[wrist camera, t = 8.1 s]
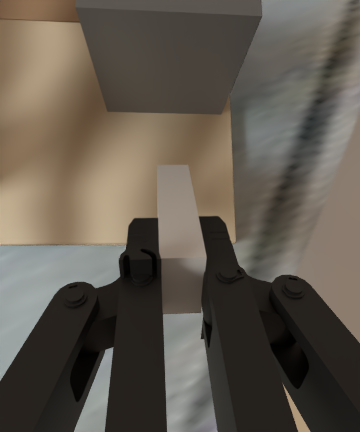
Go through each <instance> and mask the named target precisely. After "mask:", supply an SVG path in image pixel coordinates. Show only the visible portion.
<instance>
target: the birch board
mask: <svg viewBox="0 0 360 432" xmlns="http://www.w3.org/2000/svg"><path fill="white" fill-rule="evenodd" d="M75 4H76V0H0V246H18V245H127V236H128V226H129V224H130V223H131V222H132V220H133V219H134V218H158V206H157V165H188V166H189V171H190V176H191V181H192V186H193V191H194V196H195V201H196V206H197V211H198V216H219V217H220V218H221V219H222V220H223V221H224V222H225V223H226V226H227V230H228V233H229V236H230V240H231V243H232V244H233V243H236V236H235V211H234V187H233V162H232V137H231V112H230V95H229V97H228V99H227V102H226V104H225V107H224V109H223V111H222V114H221V115H217V114H176V113H136V112H107V109H106V105H105V102H104V99H103V96H102V92H101V89H100V86H99V83H98V79H97V76H96V73H95V70H94V66H93V63H92V60H91V57H90V53H89V50H88V47H87V44H86V40H85V37H84V34H83V31H82V27H81V24H80V21H79V18H78V14H77V11H76V8H75Z"/></svg>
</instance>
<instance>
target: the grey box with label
mask: <svg viewBox="0 0 360 432" xmlns="http://www.w3.org/2000/svg"><path fill="white" fill-rule="evenodd" d="M75 8H76V11H77V14H78V18H79V21H80V24H81V27H82V31H83V34H84V37H85V40H86V44H87V47H88V50H89V53H90V57H91V60H92V63H93V66H94V70H95V73H96V76H97V79H98V83H99V86H100V89H101V92H102V96H103V99H104V102H105V105H106V109H107V112H136V113H176V114H217V115H221V114H222V111H223V109H224V107H225V104H226V102H227V99H228V97H229V95H230V92H231V90H232V87H233V85H234V83H235V80H236V78H237V75H238V73H239V71H240V68H241V66H242V63H243V61H244V59H245V56H246V54H247V51H248V49H249V46H250V44H251V42H252V39H253V37H254V34H255V32H256V30H257V27H258V25H259V22H260V20H261V18H262V5H261V0H76V4H75Z"/></svg>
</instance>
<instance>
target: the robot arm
mask: <svg viewBox="0 0 360 432" xmlns="http://www.w3.org/2000/svg"><path fill="white" fill-rule="evenodd" d="M157 206H158V218H134V219H133V220H132V222H131V223H130V224H129V226H128V236H127V245H126V250H125V251H124V252H123V253H122V254H121V256H120V258H119V268H120V277H119V278H118V279H117V280H116V281H114V282H113V283H111V284H108V285H106V286H103V287H99V288H94V287H93V286H92V285H91V284H89V283H86V282H74V283H71V284H67V285H66V286H64V287H62V288H61V289H60V290H59V291H58V292H57V293H56V294H55V295H54V297H53V298H52V300H51V302H50V303H49V305H48V306H47V308H46V309H45V311H44V313H43V314H42V316H41V317H40V319H39V321H38V322H37V324H36V325H35V327H34V329H33V330H32V332H31V333H30V335H29V336H28V338H27V340H26V341H25V343H24V344H23V346H22V348H21V349H20V351H19V352H18V354H17V356H16V357H15V359H14V360H13V362H12V364H11V365H10V367H9V368H8V370H7V371H6V373H5V375H4V376H3V378H2V379H1V381H0V432H74V430H75V427H76V424H77V422H78V419H79V417H80V414H81V412H82V409H83V407H84V404H85V402H86V399H87V396H88V394H89V391H90V389H91V386H92V384H93V381H94V379H95V376H96V373H97V371H98V368H99V366H100V363H101V361H102V358H103V356H104V353H105V350H106V349H109V348H112V347H114V348H113V358H112V368H111V377H110V387H109V397H108V406H107V416H106V426H105V432H167V419H166V391H165V363H164V335H163V314H179V313H201V307H202V310H203V324H202V333H201V339H204V340H205V347H206V354H207V361H208V368H209V375H210V382H211V389H212V396H213V403H214V410H215V417H216V424H217V430H218V432H298V430H297V427H296V424H295V421H294V418H293V415H292V411H291V408H290V406H289V402H288V399H287V396H286V393H285V390H284V387H283V384H284V386H285V388H286V390H287V391H288V393H289V395H290V396H291V398H292V400H293V402H294V404H295V405H296V407H297V409H298V411H299V412H300V414H301V416H302V418H303V419H304V421H305V423H306V424H307V426H308V428H309V430H310V431H311V432H360V343H359V342H358V341H357V339H356V338H355V337H354V336H353V335H352V334H351V332H350V331H349V330H348V329H347V328H346V327H345V325H344V324H343V323H342V322H341V321H340V319H339V318H338V317H337V316H336V315H335V314H334V312H333V311H332V310H331V309H330V308H329V307H328V306H327V304H326V303H325V302H324V301H323V299H322V298H321V297H320V296H319V295H318V294H317V292H316V291H315V290H314V289H313V288H312V286H311V285H310V284H308V283H307V282H306V281H305V280H303V279H301V278H299V277H297V276H293V275H281V276H279V277H277V278H275V280H274V281H273V282H272V283H270V282H266V281H261V280H257V279H254V278H252V277H250V276H248V275H247V274H246V272H245V270H244V269H243V268H241V267H240V266H239V265H238V262H237V259H236V256H235V252H234V249H233V246H232V243H231V240H230V236H229V233H228V230H227V226H226V223H225V222H224V221H223V220H222V219H221V218H220V217H219V216H198V211H197V206H196V201H195V196H194V191H193V186H192V181H191V176H190V171H189V166H188V165H157ZM282 383H283V384H282Z"/></svg>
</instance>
